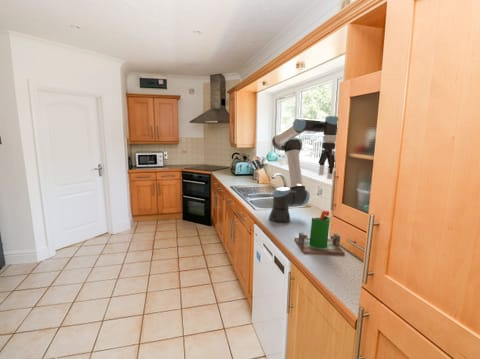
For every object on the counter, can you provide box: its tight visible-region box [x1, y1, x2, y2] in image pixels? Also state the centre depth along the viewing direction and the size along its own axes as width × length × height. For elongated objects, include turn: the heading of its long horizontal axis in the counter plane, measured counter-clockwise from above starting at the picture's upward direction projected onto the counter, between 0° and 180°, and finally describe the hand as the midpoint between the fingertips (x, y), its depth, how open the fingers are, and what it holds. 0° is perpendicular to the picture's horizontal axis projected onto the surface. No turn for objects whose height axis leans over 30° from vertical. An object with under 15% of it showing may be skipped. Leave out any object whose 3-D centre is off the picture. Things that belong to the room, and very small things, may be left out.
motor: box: [309, 210, 331, 248], centre depth 143 cm, size 10×9×20 cm
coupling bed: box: [294, 232, 346, 256], centre depth 144 cm, size 18×22×8 cm
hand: (325, 177), depth 160 cm, fingers open, 13 cm apart
